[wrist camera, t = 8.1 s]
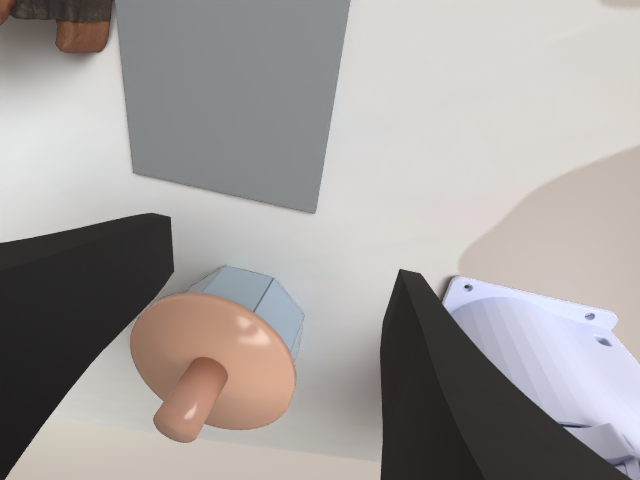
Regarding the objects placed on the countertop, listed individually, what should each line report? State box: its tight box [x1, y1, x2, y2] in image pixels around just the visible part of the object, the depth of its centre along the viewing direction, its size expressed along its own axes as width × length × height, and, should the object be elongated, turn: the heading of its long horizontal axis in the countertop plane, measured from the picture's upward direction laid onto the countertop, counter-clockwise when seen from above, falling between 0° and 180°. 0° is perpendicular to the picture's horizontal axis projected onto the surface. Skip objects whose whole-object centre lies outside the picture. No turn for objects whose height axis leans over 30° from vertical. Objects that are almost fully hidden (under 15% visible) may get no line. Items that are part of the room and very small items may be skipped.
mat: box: [115, 0, 350, 213], centre depth 18 cm, size 12×12×1 cm
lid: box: [130, 292, 296, 443], centre depth 19 cm, size 10×10×4 cm
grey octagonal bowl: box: [187, 266, 304, 362], centre depth 23 cm, size 9×9×5 cm
